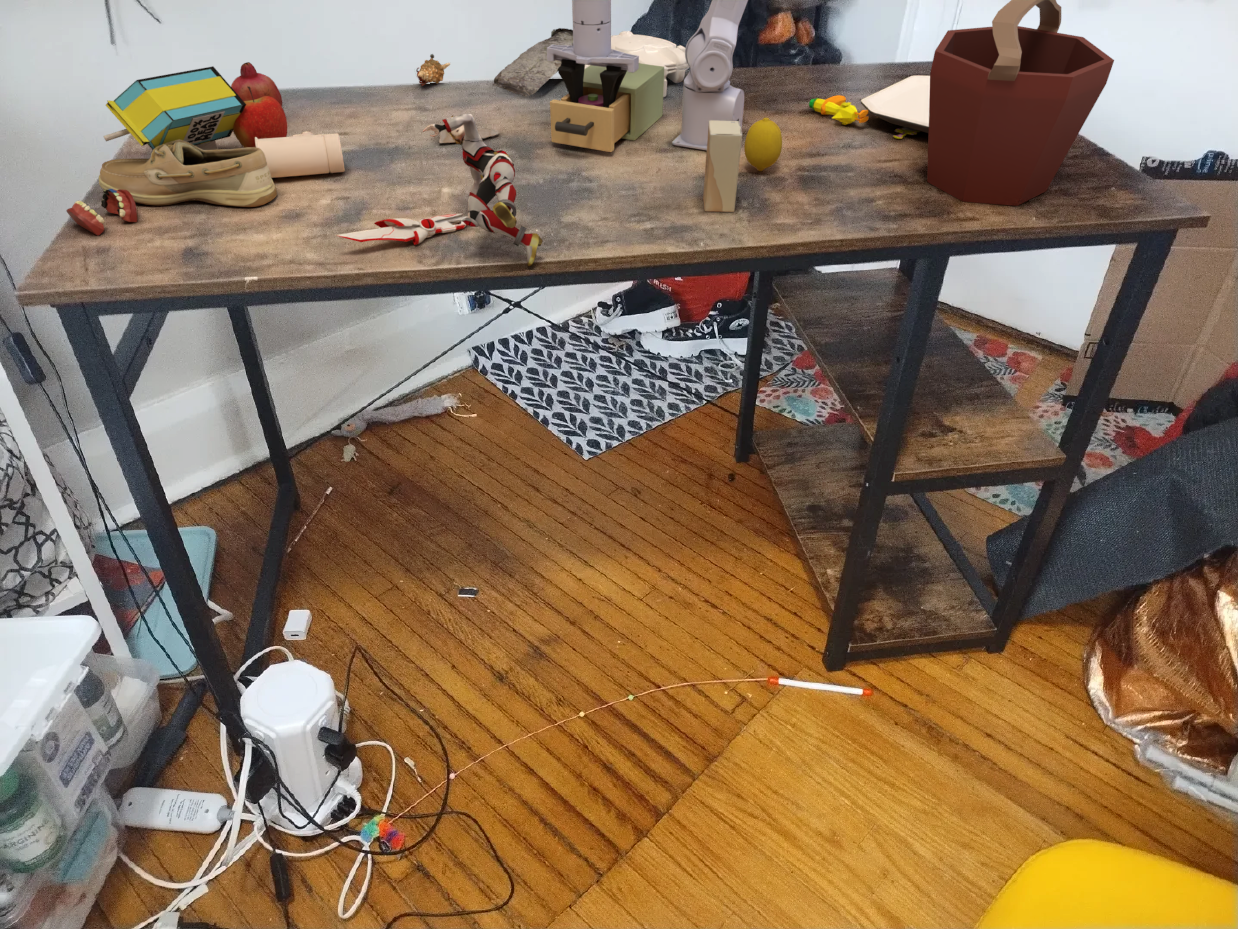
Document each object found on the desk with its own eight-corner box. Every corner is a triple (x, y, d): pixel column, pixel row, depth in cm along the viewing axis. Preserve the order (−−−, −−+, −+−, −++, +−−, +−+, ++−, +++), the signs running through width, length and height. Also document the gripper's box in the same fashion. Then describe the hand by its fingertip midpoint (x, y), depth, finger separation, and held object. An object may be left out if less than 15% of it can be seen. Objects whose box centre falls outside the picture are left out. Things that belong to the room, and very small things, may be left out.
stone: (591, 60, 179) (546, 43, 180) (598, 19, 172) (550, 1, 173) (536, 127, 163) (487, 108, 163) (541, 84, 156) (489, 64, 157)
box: (702, 196, 128) (708, 118, 121) (732, 197, 128) (740, 119, 120) (704, 212, 124) (710, 133, 117) (735, 213, 124) (742, 133, 116)
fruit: (285, 132, 145) (270, 68, 139) (233, 136, 144) (216, 71, 138) (289, 115, 151) (275, 53, 145) (240, 118, 150) (223, 56, 144)
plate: (1014, 162, 136) (1019, 148, 134) (845, 117, 149) (848, 103, 148) (1073, 118, 153) (1078, 105, 152) (917, 82, 167) (920, 69, 166)
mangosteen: (612, 119, 142) (612, 92, 139) (600, 129, 139) (600, 101, 136) (586, 115, 143) (585, 88, 141) (574, 125, 140) (573, 97, 138)
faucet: (254, 141, 125) (339, 134, 128) (255, 124, 135) (334, 119, 138) (263, 185, 128) (346, 178, 131) (264, 165, 138) (340, 159, 141)
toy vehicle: (547, 31, 169) (548, 65, 173) (598, 74, 152) (599, 111, 156) (657, 15, 176) (656, 48, 180) (718, 54, 159) (716, 90, 163)
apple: (249, 168, 134) (231, 100, 128) (233, 151, 139) (215, 85, 133) (301, 156, 138) (286, 90, 131) (284, 140, 143) (268, 75, 136)
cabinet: (634, 140, 144) (635, 89, 139) (570, 130, 148) (568, 79, 142) (662, 115, 153) (664, 66, 148) (601, 106, 156) (600, 57, 151)
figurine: (397, 82, 161) (413, 103, 163) (414, 70, 158) (431, 92, 160) (435, 48, 169) (450, 69, 171) (452, 37, 166) (467, 58, 168)
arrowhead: (439, 148, 142) (501, 145, 144) (439, 141, 141) (501, 137, 143) (436, 130, 145) (496, 127, 147) (435, 123, 144) (496, 120, 146)
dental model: (55, 197, 116) (114, 179, 121) (67, 227, 119) (124, 208, 124) (77, 210, 114) (136, 191, 119) (88, 240, 117) (146, 220, 121)
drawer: (601, 161, 135) (600, 119, 131) (540, 150, 138) (538, 109, 134) (639, 127, 146) (639, 88, 142) (581, 118, 149) (581, 79, 145)
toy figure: (880, 119, 149) (830, 104, 157) (880, 98, 147) (830, 83, 155) (849, 134, 147) (801, 118, 155) (849, 112, 145) (800, 97, 153)
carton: (194, 102, 135) (88, 124, 121) (211, 64, 130) (103, 83, 116) (228, 141, 135) (127, 167, 122) (247, 105, 130) (143, 128, 117)
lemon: (777, 164, 137) (784, 111, 132) (779, 179, 133) (786, 125, 127) (741, 163, 137) (747, 110, 132) (742, 177, 133) (747, 123, 128)
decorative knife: (928, 117, 152) (952, 125, 149) (927, 120, 152) (951, 128, 149) (883, 131, 146) (907, 140, 143) (883, 134, 147) (907, 143, 144)
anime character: (372, 317, 101) (314, 199, 115) (458, 374, 114) (396, 261, 127) (519, 179, 97) (440, 73, 110) (591, 255, 110) (512, 151, 123)
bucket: (998, 231, 120) (1057, 33, 104) (868, 179, 133) (902, -4, 117) (1093, 181, 132) (1159, -4, 115) (965, 137, 145) (1008, -34, 128)
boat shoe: (93, 202, 124) (70, 145, 119) (126, 176, 131) (107, 121, 126) (262, 215, 123) (247, 158, 117) (288, 188, 129) (275, 133, 124)
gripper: (535, 21, 131) (540, 114, 140) (626, 32, 127) (625, 128, 135) (557, 9, 136) (560, 100, 145) (644, 20, 131) (642, 113, 140)
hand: (593, 113), depth 140 cm, fingers closed on mangosteen, 4 cm apart
